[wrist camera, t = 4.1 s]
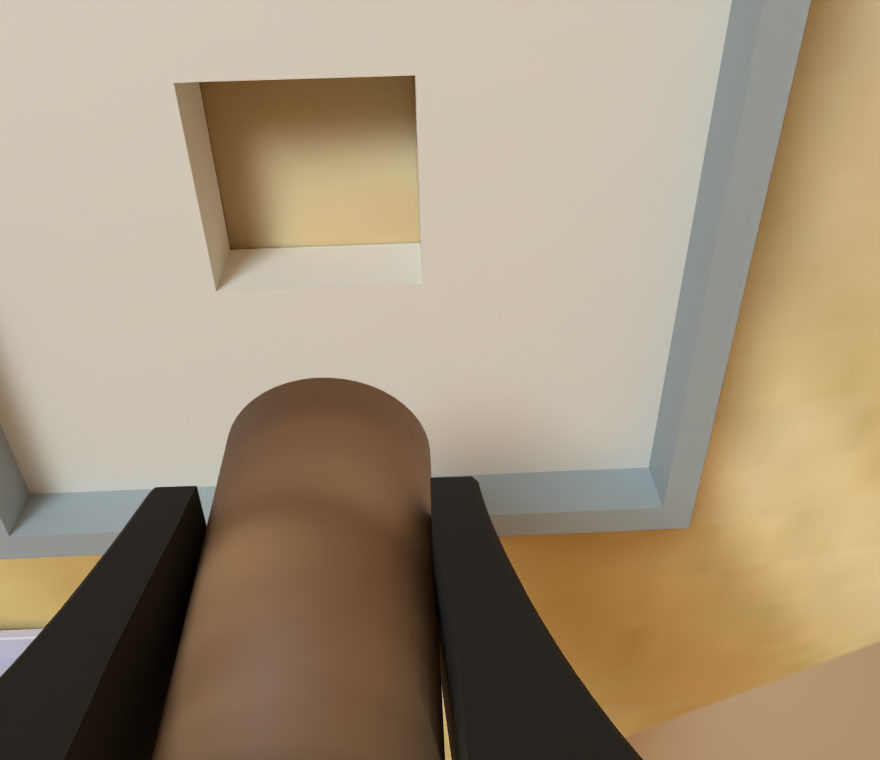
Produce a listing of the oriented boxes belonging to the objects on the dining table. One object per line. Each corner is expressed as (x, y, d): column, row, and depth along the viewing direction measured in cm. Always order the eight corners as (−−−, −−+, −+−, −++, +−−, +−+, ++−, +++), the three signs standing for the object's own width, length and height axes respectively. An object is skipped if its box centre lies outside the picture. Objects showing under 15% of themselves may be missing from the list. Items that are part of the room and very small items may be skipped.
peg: (248, 532, 15) (181, 896, 10) (206, 385, 13) (98, 757, 8) (436, 519, 15) (454, 878, 10) (423, 370, 13) (438, 734, 8)
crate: (34, 466, 24) (-13, 559, 21) (-310, -369, 13) (-497, -403, 11) (655, 440, 25) (689, 528, 22) (804, -388, 14) (909, -424, 11)
